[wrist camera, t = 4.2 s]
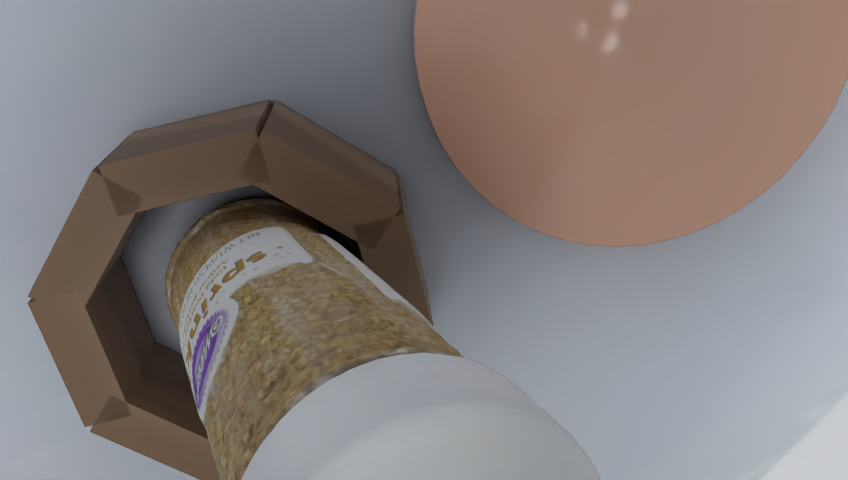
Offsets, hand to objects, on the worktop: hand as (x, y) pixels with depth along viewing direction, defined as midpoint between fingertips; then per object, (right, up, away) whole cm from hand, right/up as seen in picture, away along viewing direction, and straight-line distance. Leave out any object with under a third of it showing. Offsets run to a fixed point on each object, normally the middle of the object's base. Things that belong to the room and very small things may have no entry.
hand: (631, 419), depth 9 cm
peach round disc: (+3, +7, +12) cm, 14 cm away
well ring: (-7, +1, +13) cm, 15 cm away
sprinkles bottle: (-7, +1, +13) cm, 15 cm away
